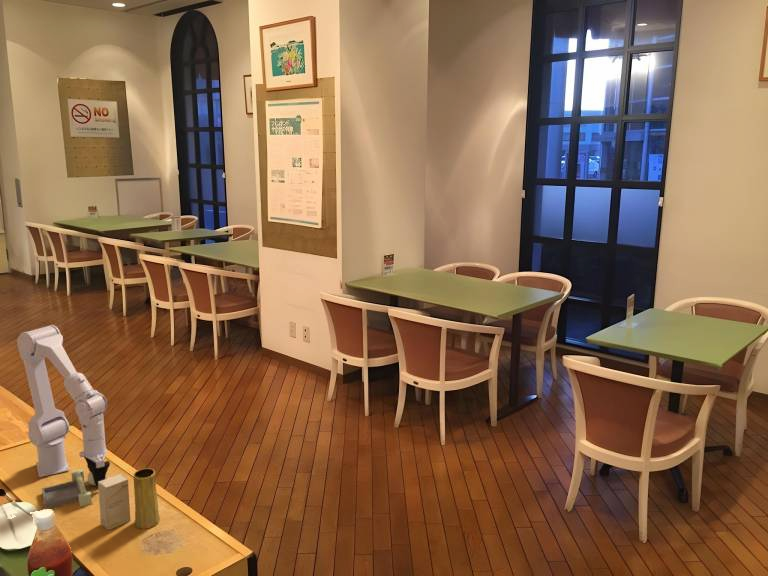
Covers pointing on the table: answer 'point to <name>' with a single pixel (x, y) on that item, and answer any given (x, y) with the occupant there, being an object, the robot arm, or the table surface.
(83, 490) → the rail
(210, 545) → the table surface
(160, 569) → the table surface
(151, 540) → the table surface
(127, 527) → the table surface
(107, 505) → the skincare box
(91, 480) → the ball
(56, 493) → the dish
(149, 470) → the vase
